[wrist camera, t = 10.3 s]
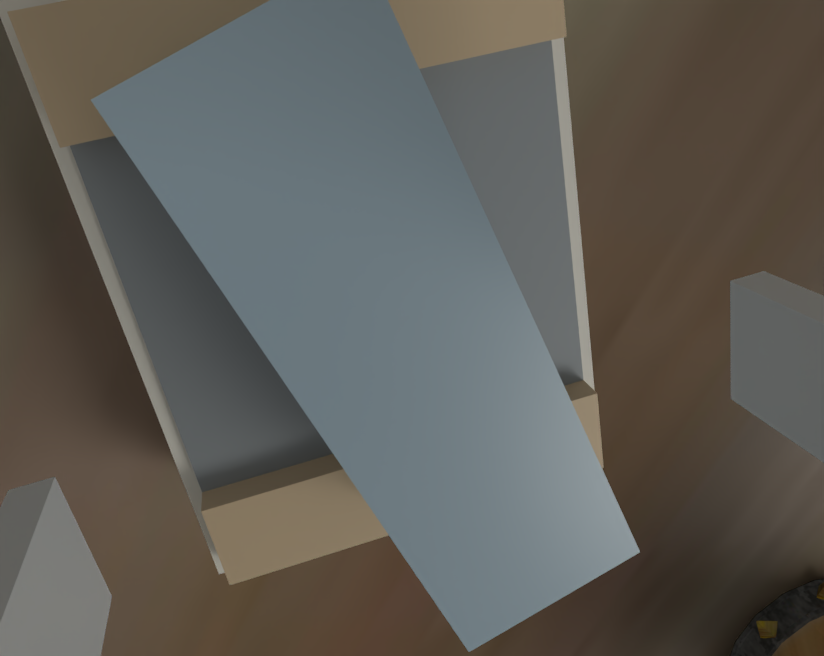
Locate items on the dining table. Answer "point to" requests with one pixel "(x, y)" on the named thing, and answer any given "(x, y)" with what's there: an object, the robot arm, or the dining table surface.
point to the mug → (787, 625)
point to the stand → (209, 308)
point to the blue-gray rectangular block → (379, 297)
